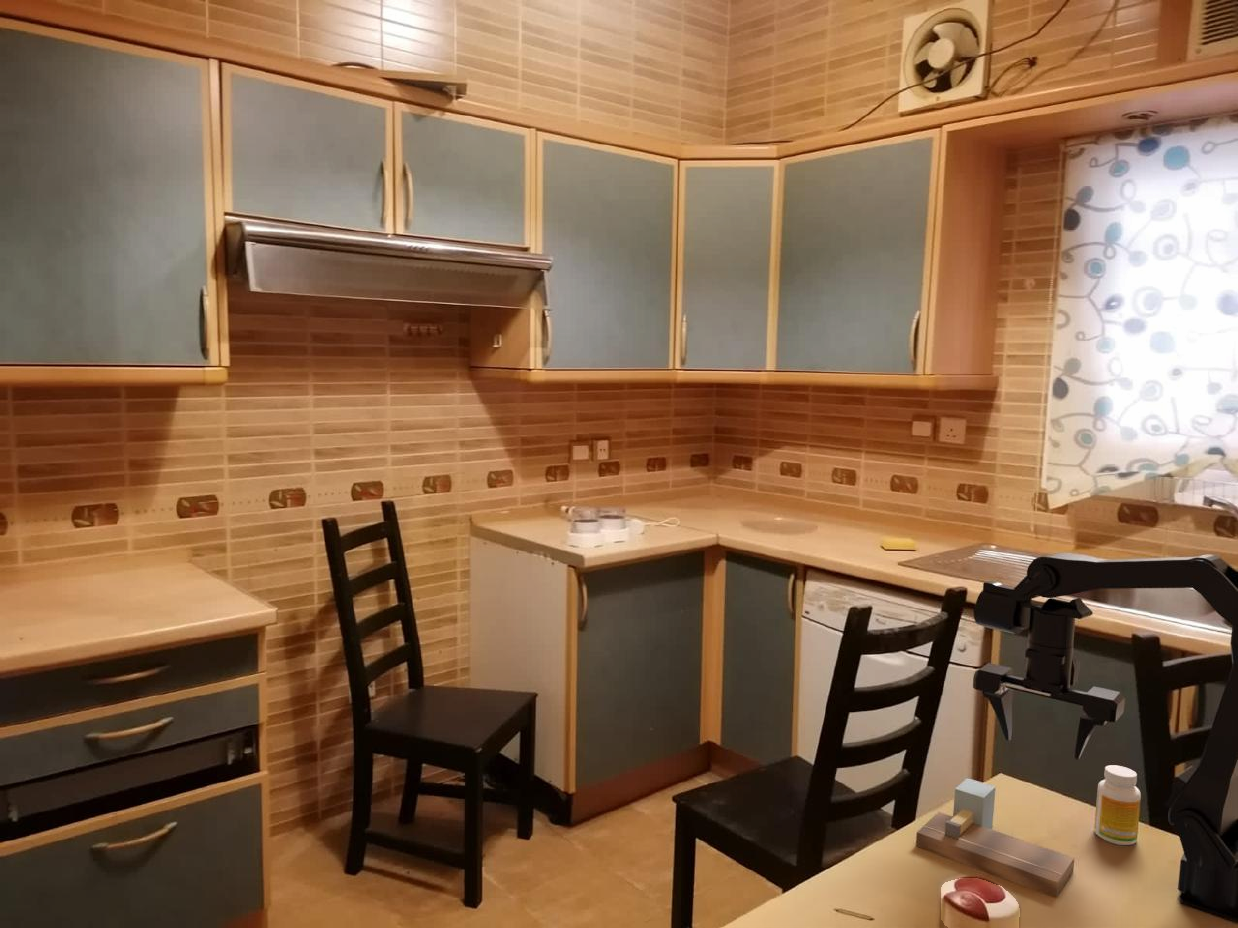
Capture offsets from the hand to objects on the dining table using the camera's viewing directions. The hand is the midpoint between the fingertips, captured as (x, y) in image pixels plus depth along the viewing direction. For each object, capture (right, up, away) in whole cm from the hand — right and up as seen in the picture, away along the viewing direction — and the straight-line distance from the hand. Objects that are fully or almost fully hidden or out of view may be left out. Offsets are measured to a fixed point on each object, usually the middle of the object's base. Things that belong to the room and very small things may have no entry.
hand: (1042, 749), depth 128 cm
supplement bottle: (+10, -13, 0) cm, 16 cm away
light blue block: (-11, -12, -1) cm, 17 cm away
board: (-10, -13, -7) cm, 17 cm away
